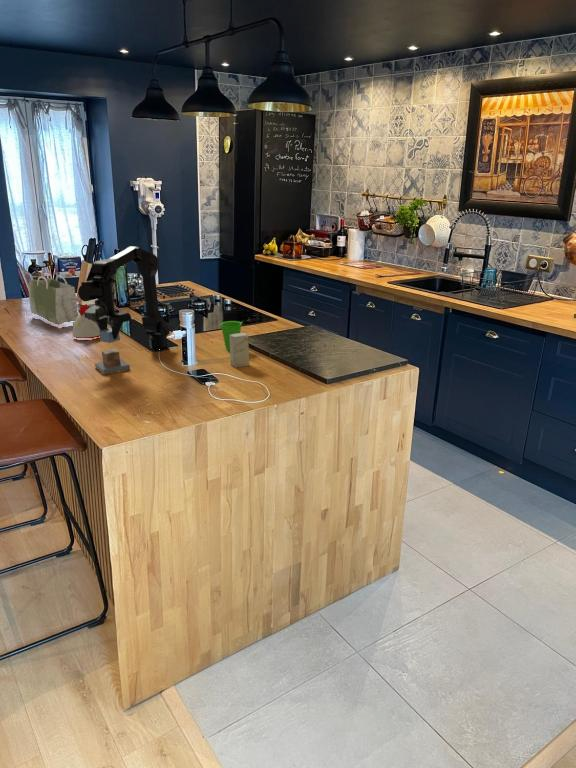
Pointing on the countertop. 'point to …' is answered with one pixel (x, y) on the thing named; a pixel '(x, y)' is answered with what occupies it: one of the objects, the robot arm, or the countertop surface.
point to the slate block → (108, 336)
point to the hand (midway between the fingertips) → (109, 337)
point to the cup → (230, 331)
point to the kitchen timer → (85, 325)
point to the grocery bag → (53, 300)
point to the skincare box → (239, 350)
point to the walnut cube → (111, 357)
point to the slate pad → (112, 367)
